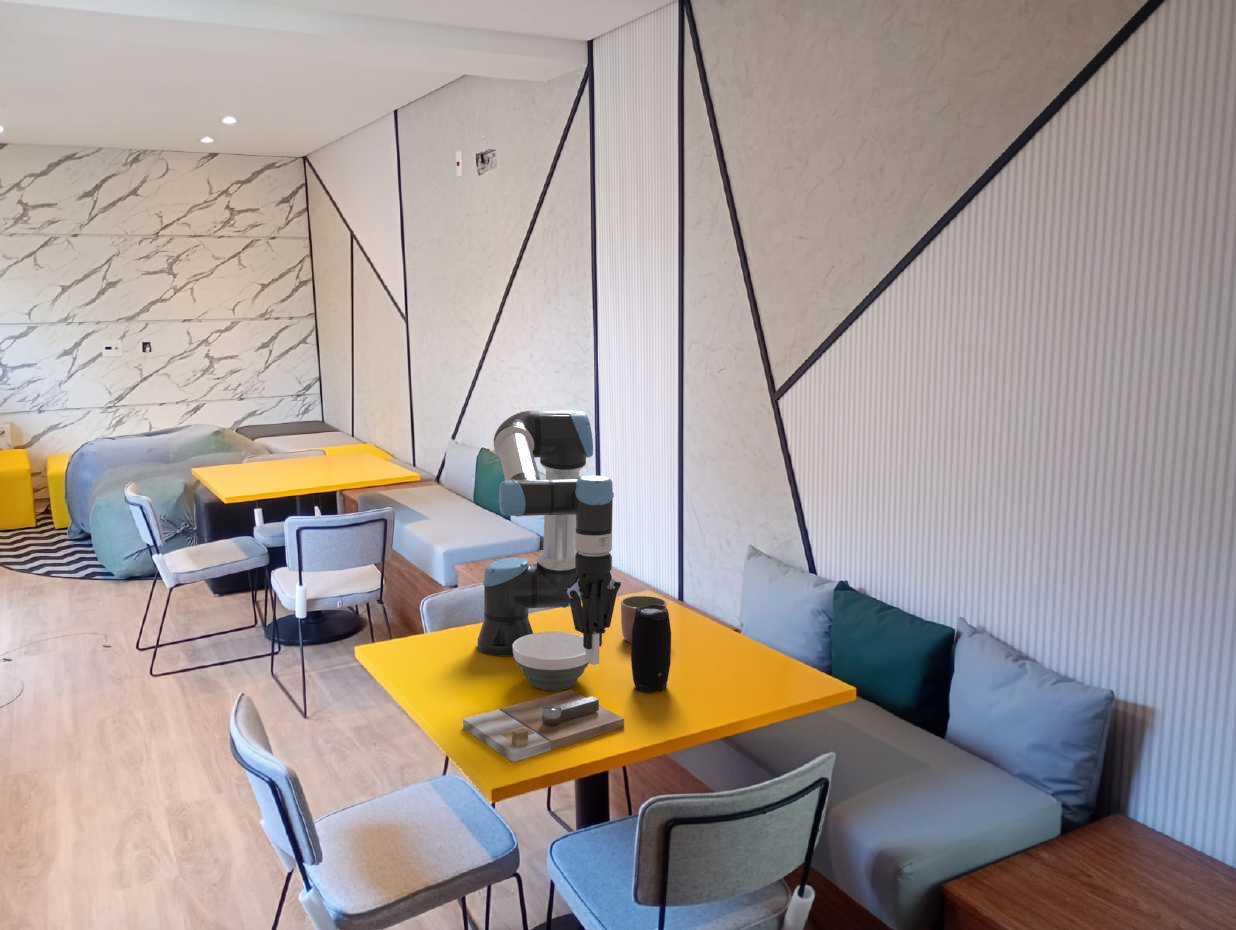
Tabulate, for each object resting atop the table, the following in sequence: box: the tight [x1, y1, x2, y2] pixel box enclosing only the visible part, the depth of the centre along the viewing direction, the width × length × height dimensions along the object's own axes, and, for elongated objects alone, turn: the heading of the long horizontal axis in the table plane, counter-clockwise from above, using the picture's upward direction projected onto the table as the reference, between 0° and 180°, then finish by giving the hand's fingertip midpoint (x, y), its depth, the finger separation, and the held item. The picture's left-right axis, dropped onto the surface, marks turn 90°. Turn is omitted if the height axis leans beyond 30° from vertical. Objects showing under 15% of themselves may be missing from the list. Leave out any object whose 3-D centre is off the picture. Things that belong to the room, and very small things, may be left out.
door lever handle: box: [542, 695, 600, 726], centre depth 207 cm, size 14×4×3 cm, turn 128°
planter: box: [620, 595, 667, 644], centre depth 263 cm, size 12×12×11 cm
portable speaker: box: [630, 604, 672, 694], centre depth 229 cm, size 9×9×20 cm
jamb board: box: [462, 688, 625, 763], centre depth 207 cm, size 20×28×5 cm
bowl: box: [513, 631, 590, 692], centre depth 232 cm, size 20×20×10 cm
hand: (592, 662), depth 201 cm, fingers closed
